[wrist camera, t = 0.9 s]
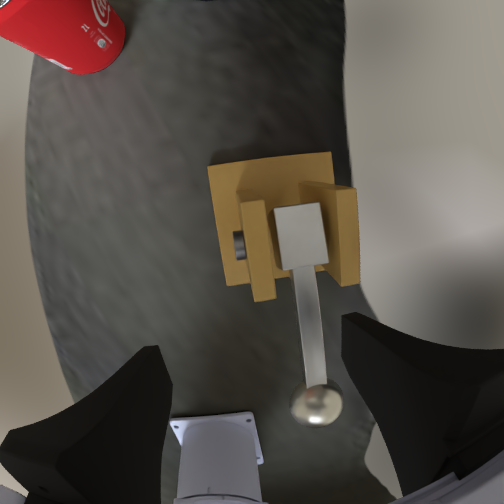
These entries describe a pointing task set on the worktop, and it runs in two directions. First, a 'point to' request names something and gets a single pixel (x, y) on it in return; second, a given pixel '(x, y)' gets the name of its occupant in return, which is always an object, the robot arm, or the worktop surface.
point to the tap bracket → (276, 195)
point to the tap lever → (306, 308)
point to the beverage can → (65, 31)
